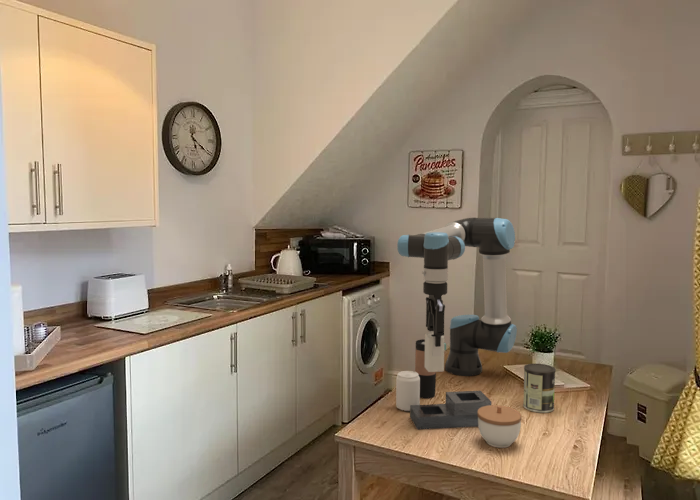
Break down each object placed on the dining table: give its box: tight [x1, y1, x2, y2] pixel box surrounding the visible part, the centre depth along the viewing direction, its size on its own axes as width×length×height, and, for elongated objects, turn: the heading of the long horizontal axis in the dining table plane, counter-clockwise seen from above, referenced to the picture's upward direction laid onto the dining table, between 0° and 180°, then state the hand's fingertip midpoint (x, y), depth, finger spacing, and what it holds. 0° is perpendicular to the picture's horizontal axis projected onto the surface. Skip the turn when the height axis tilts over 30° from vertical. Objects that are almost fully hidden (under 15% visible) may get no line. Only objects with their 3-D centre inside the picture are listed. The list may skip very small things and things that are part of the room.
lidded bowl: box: [477, 404, 522, 449], centre depth 164 cm, size 13×13×11 cm
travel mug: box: [414, 338, 437, 399], centre depth 202 cm, size 8×8×20 cm
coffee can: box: [522, 363, 556, 414], centre depth 191 cm, size 10×10×14 cm
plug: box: [424, 333, 447, 373], centre depth 177 cm, size 5×6×11 cm
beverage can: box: [395, 370, 421, 412], centre depth 191 cm, size 8×8×12 cm
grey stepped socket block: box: [409, 390, 492, 431], centre depth 179 cm, size 10×24×8 cm, turn 97°
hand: (434, 353), depth 177 cm, fingers closed on plug, 5 cm apart
